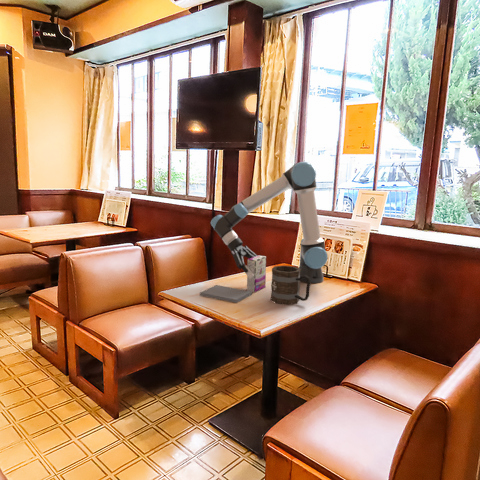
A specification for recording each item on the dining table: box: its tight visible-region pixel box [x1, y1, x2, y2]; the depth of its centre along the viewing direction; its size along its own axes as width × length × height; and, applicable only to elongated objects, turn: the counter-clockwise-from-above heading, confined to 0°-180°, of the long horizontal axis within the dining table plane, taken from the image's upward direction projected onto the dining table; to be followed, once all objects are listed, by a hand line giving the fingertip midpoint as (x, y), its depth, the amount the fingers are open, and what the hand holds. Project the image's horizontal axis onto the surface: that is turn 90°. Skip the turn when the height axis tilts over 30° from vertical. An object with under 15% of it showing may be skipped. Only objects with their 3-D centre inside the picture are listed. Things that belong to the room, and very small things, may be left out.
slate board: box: [199, 284, 253, 304], centre depth 194 cm, size 20×15×2 cm
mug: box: [270, 265, 312, 306], centre depth 186 cm, size 20×14×15 cm
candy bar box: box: [246, 255, 267, 293], centre depth 204 cm, size 11×5×16 cm, turn 148°
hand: (258, 274), depth 203 cm, fingers open, 13 cm apart
